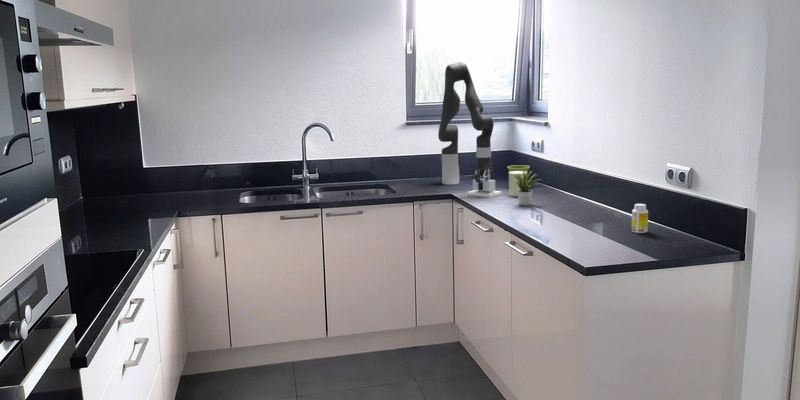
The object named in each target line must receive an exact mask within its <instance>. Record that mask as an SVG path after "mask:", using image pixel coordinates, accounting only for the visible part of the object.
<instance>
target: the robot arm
mask: <svg viewBox="0 0 800 400" xmlns="http://www.w3.org/2000/svg"><path fill="white" fill-rule="evenodd" d="M444 71H445V72H444V92H443V100H442V107H441V108H442V109H441V116H440V117H441V118H440V121H439V126H438V127H439V128H438V135H437V136H438V140H439V141H440V142H442V143H445V142H446V143H447V142H448V143H450V144H449V145H447V146H445V147H443V148H442V149H441V173H442V174H441V175H442V176H441V177H442V180H441V181H442V182H441V183H442V185H446V186H449V185H458V184H459V183H460V166H459V128H458V126H457V125H456V124H450V125H449V123H450V122H451V121H452V120H453V119H454V118H455V117H456V116H457V114H458V113H459V112H460V107H461V97H460V96H459V94H458V93H457V91H456V90H455V83H457V82H461V81H463V82H464V84H465V93H464V102H465V103H464V104H465V105H466V108H467V109H468V112H469V114H470V119H471V124H472V127H473V128H474V129H475V130H476V131H478V132H480V131H481V134H480V135H477V136H476V138H475V139H476V140H475V141H476V144H475V145H476V149H475V154H476V156H475V161H476V162H475V164H476V165H475V166H477V169H476V170H473V174H474V180H475V182H478V189H479V190H483V183H482V182H483V179H486V180H493V176H494V167H490V166H491V165H492V148H491V147H492V146H491V139H492V134H493V130H494V120H493V118H492V117H491V116H489V115H484V116H483V115H481V114H482V113H483V112H484V106H483V105H482V103H481V100H480V98H479V96H478V95H477V92H476V89H475V85H474V82H473V79H472V78H473V77H472V76H471V72H470V70H469V67H468V65H467V64H466V63H465V62H464V61H460V62H455V63H451V64H448V65H447V66H446V68H445V70H444ZM477 179H478V180H477ZM480 179H481V180H480Z"/></svg>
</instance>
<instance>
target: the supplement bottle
mask: <svg viewBox="0 0 800 400" xmlns="http://www.w3.org/2000/svg"><path fill="white" fill-rule="evenodd" d="M648 226H649V210H648V209H647V204H645V203H635V204H634V207H633V209H632V210H631V231H632V232H633V233H635V234H645V233H647V232H648V231H649V229H648V228H649V227H648Z"/></svg>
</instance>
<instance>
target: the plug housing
mask: <svg viewBox="0 0 800 400" xmlns="http://www.w3.org/2000/svg"><path fill="white" fill-rule="evenodd" d="M477 180H478V178H477ZM480 180H481V178H480ZM482 183H483V190H479V189H478V182H475V179H473V180H472V191H473V190H479V191H488V192H490V191H496V179H491V180H486V179H485V178H484V179H483V182H482Z"/></svg>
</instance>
